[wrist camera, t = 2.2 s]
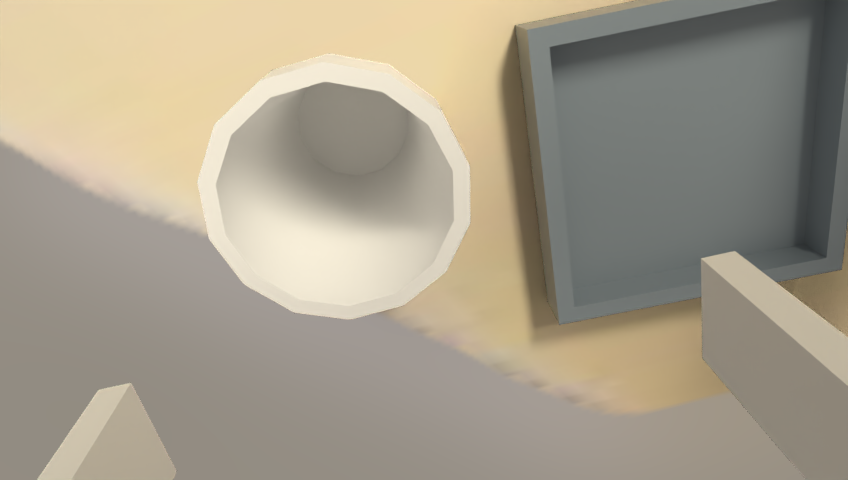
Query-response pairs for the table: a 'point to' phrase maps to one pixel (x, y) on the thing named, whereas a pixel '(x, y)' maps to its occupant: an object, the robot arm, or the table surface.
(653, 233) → the slate tray
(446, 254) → the foam cup
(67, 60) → the table surface
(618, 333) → the table surface
